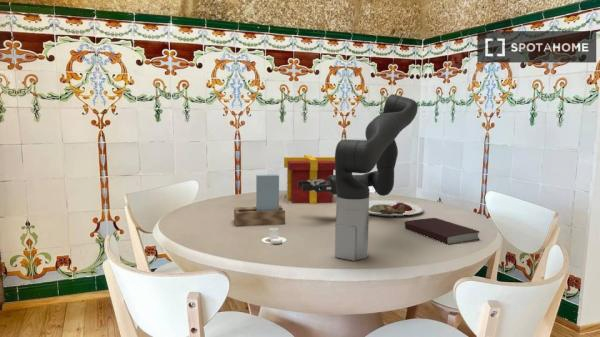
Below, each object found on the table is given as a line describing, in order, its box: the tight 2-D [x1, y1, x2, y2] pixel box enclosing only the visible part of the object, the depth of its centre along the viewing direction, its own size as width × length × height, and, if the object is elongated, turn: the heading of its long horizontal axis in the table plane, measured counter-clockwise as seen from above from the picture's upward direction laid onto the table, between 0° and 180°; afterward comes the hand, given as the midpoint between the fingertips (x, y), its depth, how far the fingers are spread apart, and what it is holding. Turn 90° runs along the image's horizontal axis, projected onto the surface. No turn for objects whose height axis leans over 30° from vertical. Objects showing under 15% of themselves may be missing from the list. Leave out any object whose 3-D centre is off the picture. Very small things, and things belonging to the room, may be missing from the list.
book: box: [404, 217, 481, 245], centre depth 150 cm, size 14×22×4 cm, turn 23°
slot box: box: [233, 205, 286, 227], centre depth 164 cm, size 18×9×5 cm, turn 102°
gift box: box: [283, 154, 335, 205], centre depth 209 cm, size 25×25×20 cm
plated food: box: [369, 199, 425, 217], centre depth 187 cm, size 30×30×3 cm
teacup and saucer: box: [261, 227, 287, 245], centre depth 140 cm, size 9×8×4 cm
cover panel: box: [255, 174, 280, 211], centre depth 162 cm, size 8×3×18 cm, turn 102°
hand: (300, 186), depth 164 cm, fingers open, 8 cm apart
